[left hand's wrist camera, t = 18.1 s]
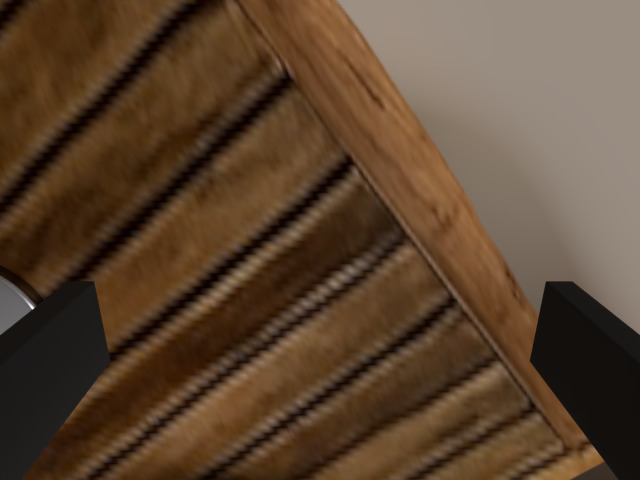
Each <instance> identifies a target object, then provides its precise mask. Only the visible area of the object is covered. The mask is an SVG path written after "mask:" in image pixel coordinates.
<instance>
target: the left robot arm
mask: <svg viewBox="0 0 640 480" xmlns="http://www.w3.org/2000/svg"><path fill="white" fill-rule="evenodd" d="M109 362H110V358H109V353H108V348H107V343H106V338H105V333H104V328H103V323H102V318H101V313H100V308H99V304H98V299H97V294H96V289H95V284H94V281H68V282H66V283H65V284H64V285H63V286H61V287H60V288H59V289H58V290H56V291H55V292H54V293H53V294H51V295H50V296H49V297H47V298H46V299H45V300H43V299H42V298H41V296H40V295H39V294H38V293H37V292H36V291H35V290H34V289H33V288H32V287H31V286H30V285H29V284H28V283H26V282H25V281H24V280H23V279H21V278H20V277H18V276H17V275H15V274H14V273H12V272H11V271H9V270H7V269H5V268H3V267H1V266H0V480H22V478H23V477H24V476H25V474H26V473H27V472H28V470H29V469H30V467H31V466H32V465H33V463H34V462H35V461H36V459H37V458H38V457H39V455H40V454H41V453H42V451H43V450H44V449H45V447H46V446H47V445H48V443H49V442H50V441H51V439H52V438H53V437H54V435H55V434H56V433H57V431H58V430H59V429H60V427H61V426H62V425H63V423H64V422H65V421H66V419H67V418H68V417H69V415H70V414H71V413H72V411H73V410H74V409H75V407H76V406H77V405H78V403H79V402H80V401H81V399H82V398H83V397H84V395H85V394H86V393H87V391H88V390H89V389H90V387H91V386H92V385H93V383H94V382H95V381H96V379H97V378H98V377H99V375H100V374H101V373H102V371H103V370H104V369H105V367H106V366H107V365H108V363H109ZM530 362H531V363H532V365H533V366H534V367H535V369H536V370H537V371H538V373H539V374H540V375H541V377H542V378H543V379H544V381H545V382H546V383H547V385H548V386H549V387H550V389H551V390H552V391H553V393H554V394H555V395H556V397H557V398H558V399H559V401H560V402H561V403H562V405H563V406H564V407H565V409H566V410H567V411H568V413H569V414H570V415H571V417H572V418H573V419H574V421H575V422H576V423H577V425H578V426H579V427H580V429H581V430H582V431H583V433H584V434H585V435H586V437H587V438H588V439H589V441H590V442H591V443H592V445H593V446H594V447H595V449H596V450H597V451H598V453H599V454H600V455H601V457H602V458H603V459H604V461H605V462H606V463H607V465H608V466H609V467H610V469H611V470H612V472H613V473H614V474H615V476H616V477H617V478H618V480H640V335H639V334H638V333H637V332H635V331H634V330H633V329H632V328H630V327H629V326H628V325H627V324H625V323H624V322H623V321H621V320H620V319H619V318H618V317H616V316H615V315H614V314H613V313H611V312H610V311H609V310H608V309H606V308H605V307H604V306H603V305H601V304H600V303H599V302H598V301H596V300H595V299H594V298H593V297H591V296H590V295H589V294H587V293H586V292H585V291H584V290H582V289H581V288H580V287H579V286H577V285H576V284H575V283H574V282H570V281H568V282H567V281H562V282H561V281H560V282H559V281H557V282H555V281H550V282H549V281H547V282H546V284H545V289H544V294H543V299H542V304H541V308H540V313H539V318H538V323H537V328H536V333H535V338H534V343H533V348H532V353H531V358H530Z"/></svg>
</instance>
